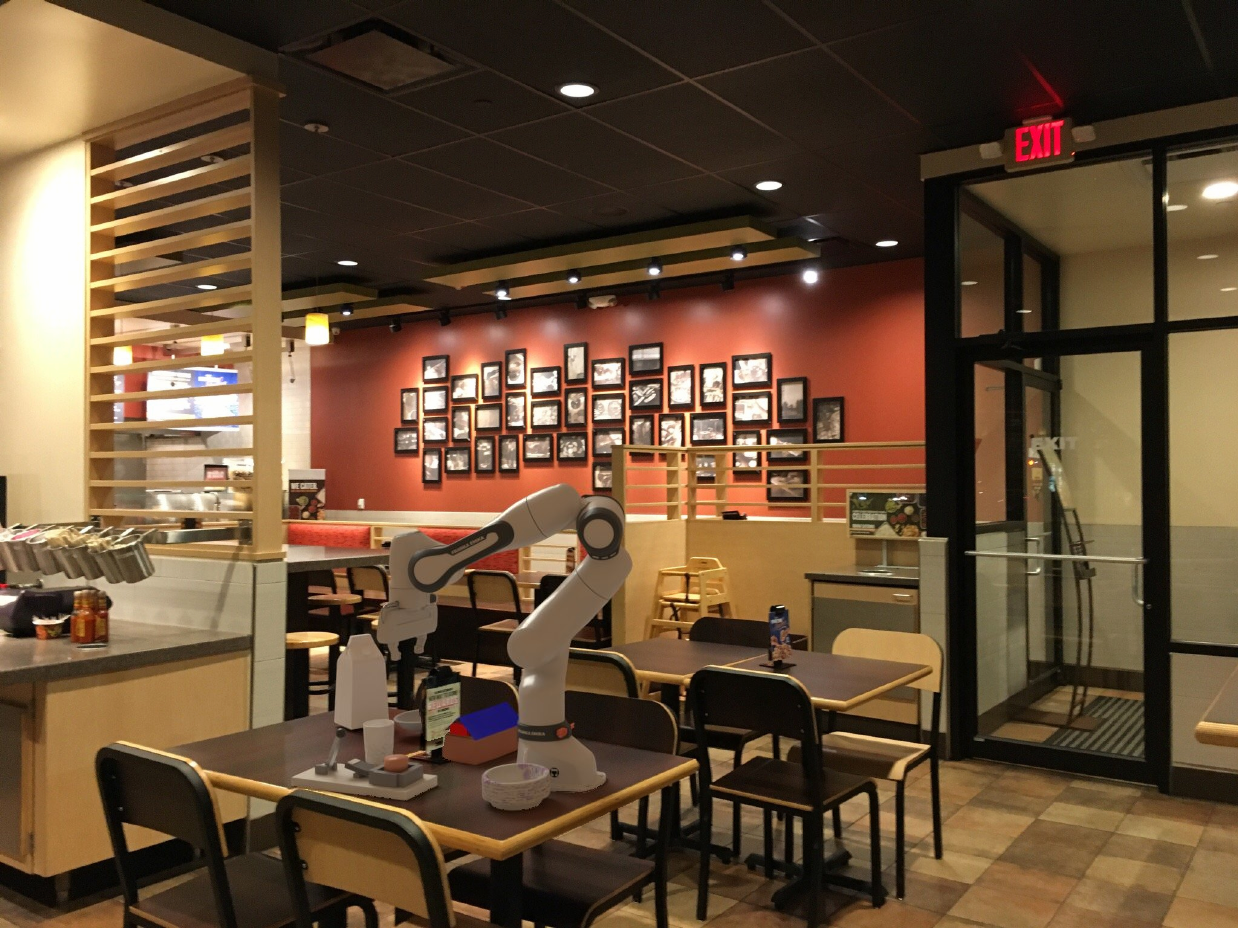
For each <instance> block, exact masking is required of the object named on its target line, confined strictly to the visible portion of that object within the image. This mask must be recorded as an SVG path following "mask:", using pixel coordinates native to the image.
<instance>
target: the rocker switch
mask: <svg viewBox="0 0 1238 928" xmlns="http://www.w3.org/2000/svg"><path fill="white" fill-rule="evenodd" d="M344 764H345V767H344V768H346V769H349V770H351V771H354V772H357V773H359V774H362V775H364V776H368V775H369V770H371V769H373V768H375V767H377V766H378V765H372V764H369V763H367V762H366V761H364V760H361V759H358V758H353V759H351V760H348V761H347V762H345V763H344Z"/></svg>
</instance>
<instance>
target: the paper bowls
mask: <svg viewBox="0 0 1238 928" xmlns="http://www.w3.org/2000/svg"><path fill="white" fill-rule="evenodd" d="M481 793H482V797H481V798H483V800H484V801H486V802H488V803H491V806H492V807H494V808H495V807H496V809H499V810H503V809H504V810H503V811H523V810H522V809H525V810H529V808H530V809H533V808H532V807H534V808H536V807H538V806H540V805H541V804H540V803H542V801H543V800H544V799H546V798H548V796H550V794H551V791H550V771H549V770H548V769H547V768H546V767H544V766H541V765H537V764H530V763H516V762H514V763H508V764H500V765H498V766H494V767H492V768H489V769H487V770H485V771H484V772H483V773H482V775H481ZM539 804H540V805H539ZM535 806H536V807H535Z"/></svg>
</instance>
